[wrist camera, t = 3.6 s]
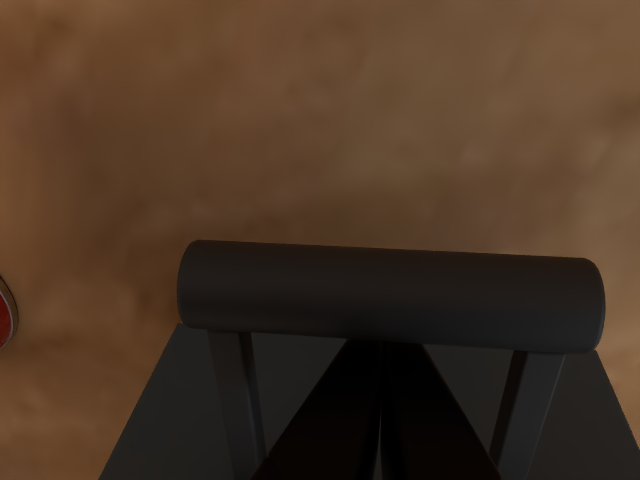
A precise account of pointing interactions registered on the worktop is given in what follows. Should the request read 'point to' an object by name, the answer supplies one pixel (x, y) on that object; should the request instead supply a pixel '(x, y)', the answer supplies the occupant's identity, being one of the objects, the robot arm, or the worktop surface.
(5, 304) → the can
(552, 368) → the drawer
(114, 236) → the worktop surface
